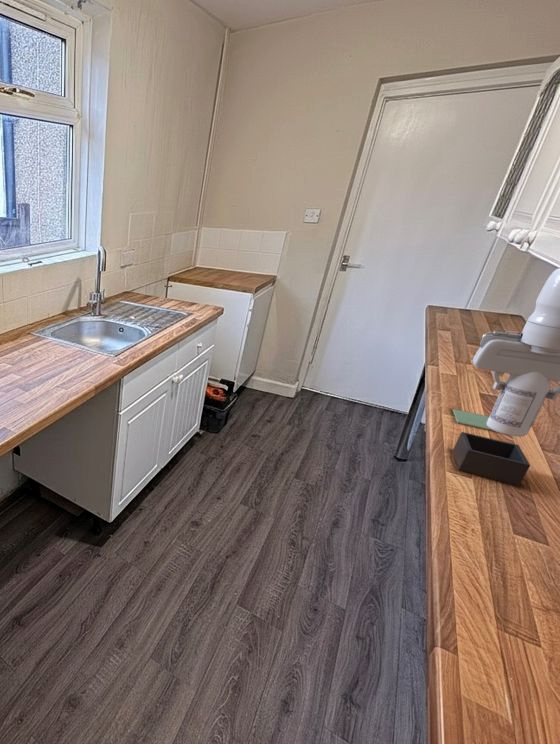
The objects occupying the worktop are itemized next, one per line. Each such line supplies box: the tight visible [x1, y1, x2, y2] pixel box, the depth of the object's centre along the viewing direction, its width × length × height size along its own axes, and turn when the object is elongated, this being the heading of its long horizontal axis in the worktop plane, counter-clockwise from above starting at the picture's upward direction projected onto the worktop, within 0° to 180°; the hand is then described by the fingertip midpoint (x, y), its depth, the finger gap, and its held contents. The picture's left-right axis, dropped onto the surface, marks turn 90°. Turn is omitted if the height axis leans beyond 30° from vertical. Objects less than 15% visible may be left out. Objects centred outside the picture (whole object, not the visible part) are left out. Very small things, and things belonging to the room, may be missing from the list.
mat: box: [452, 408, 495, 432], centre depth 125 cm, size 10×10×1 cm
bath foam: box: [486, 372, 551, 437], centre depth 96 cm, size 7×7×20 cm
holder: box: [452, 431, 531, 487], centre depth 103 cm, size 11×11×6 cm
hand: (523, 393), depth 96 cm, fingers closed on bath foam, 7 cm apart
